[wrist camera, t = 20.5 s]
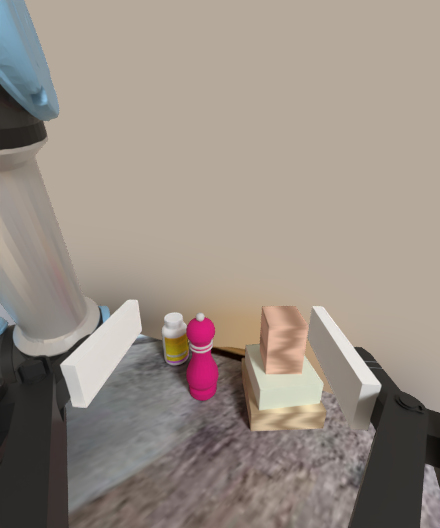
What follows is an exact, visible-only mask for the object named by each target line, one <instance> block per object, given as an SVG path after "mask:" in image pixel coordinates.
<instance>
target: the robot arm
mask: <svg viewBox="0 0 440 528" xmlns="http://www.w3.org/2000/svg"><path fill="white" fill-rule="evenodd" d="M58 115H59V105H58V100H57V96H56V92H55V90H54V86H53V83H52V80H51V77H50V72H49V68H48V65H47V62H46V59H45V56H44V53H43V50H42V47H41V44H40V42H39V39H38V36H37V33H36V31H35V28H34V25H33V23H32V20H31V17H30V14H29V12H28V9H27V7H26V4H25V2H24V0H0V303H1V305H2V306H3V307H4V309H5V310H6V311H7V312H8V314H9V315H10V316H11V318H12V319H13V320H14V321H15V323H16V325H11V326H8V322H7V321H6V320H5V319H3V318H2V317H0V528H68V481H67V430H66V408H65V404H66V403H67V402H68V401H69V399H71V402H72V406H73V407H81V408H87V407H88V405H89V404H90V403H91V401H92V400H93V398H94V397H95V396H96V394H97V393H98V391H99V390H100V389H101V387H102V386H103V384H104V383H105V382H106V380H107V379H108V377H109V376H110V374H111V373H112V372H113V370H114V369H115V367H116V366H117V365H118V363H119V362H120V360H121V359H122V358H123V356H124V355H125V353H126V352H127V351H128V349H129V348H130V346H131V345H132V344H133V342H134V341H135V339H136V338H137V337H138V335H139V334H140V332H141V331H142V327H141V320H140V314H139V306H138V300H127V301H126V302H125V303H124V304H123V305H122V306H121V307H120V308H119V309H118V310H117V311H116V312H115V313H114V314H113V315H112V316H111V317H110V312H109V308H108V307H107V306H97V304H96V303H95V302H94V301H93V300H92V299H90V298H88V297H86V296H83V293H82V290H81V288H80V285H79V282H78V279H77V276H76V273H75V271H74V268H73V265H72V262H71V259H70V256H69V253H68V250H67V247H66V245H65V242H64V239H63V236H62V233H61V230H60V227H59V225H58V222H57V219H56V216H55V213H54V210H53V207H52V205H51V202H50V199H49V196H48V193H47V191H46V187H45V185H44V182H43V179H42V176H41V173H40V170H39V168H38V165H37V162H36V159H35V155H36V154H37V153H38V151H39V150H40V149H41V148H42V147H43V145H44V144H45V143H46V142H47V140H48V136H47V133H46V130H45V126H44V123H43V121H49V120H51V119H54V118H57V117H58ZM308 340H309V342H310V344H311V347H312V349H313V351H314V353H315V355H316V357H317V359H318V361H319V363H320V366H321V368H322V370H323V372H324V374H325V376H326V378H327V380H328V383H329V385H330V387H331V389H332V391H333V393H334V395H335V397H336V399H337V402H338V404H339V406H340V408H341V410H342V412H343V414H344V416H345V418H346V421H347V423H348V425H349V427H350V429H353V430H366V431H368V428H369V425H370V422H371V423H372V424H373V426H374V428H375V430H376V433H375V436H374V439H373V442H372V445H371V450H370V453H369V457H368V460H367V464H366V467H365V470H364V474H363V477H362V481H361V484H360V488H359V491H358V495H357V498H356V502H355V505H354V509H353V512H352V515H351V519H350V522H349V526H348V528H420V520H421V506H422V493H423V479H424V466H425V463H426V464H429V465H431V466H434V470H435V473H436V477H437V480H438V484H439V487H440V413H439V412H435V411H432V410H429V409H426V408H425V406H424V405H423V404H422V403H421V402H420V401H419V400H417V399H416V398H415V397H413V396H411V395H409V394H407V393H405V392H402V391H400V389H399V388H398V387H397V386H396V384H395V383H394V382H393V381H392V380H391V378H390V377H389V376H388V375H387V373H386V372H385V371H384V370H383V369H382V367H381V366H380V365H379V364H378V363H377V361H376V360H375V359H374V357H373V356H372V355H371V354H370V353H369V352H367V351H366V350H365V349H363V348H362V347H353V346H352V345H351V343H350V342H349V341H348V339H347V338H346V337H345V336H344V334H343V333H342V331H341V330H340V329H339V327H338V326H337V325H336V323H335V322H334V321H333V319H332V318H331V317H330V315H329V314H328V313H327V311H326V310H325V308H324V307H322V306H312V310H311V317H310V324H309V331H308Z"/></svg>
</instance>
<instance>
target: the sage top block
mask: <svg viewBox="0 0 440 528" xmlns="http://www.w3.org/2000/svg"><path fill="white" fill-rule="evenodd" d="M245 364H246V367H247V371H248V374H249V377H250V381H251V384H252V388H253V391H254V395H255V398H256V402H257V405H258V408H259V410H266V409H275V408H284V407H293V406H302V405H310V404H319V403H320V400H321V394H322V389H323V382H322V381H321V379H320V378H319V376H318V375H317V373H316V372H315V370H314V369H313V367H312V366H311V364H310V363H309V361H308V360H307V358H306V357H305V355H304V361H303V368H302V374H266V373H265V369H264V365H263V361H262V357H261V353H260V344H253V345H246V350H245Z"/></svg>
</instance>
